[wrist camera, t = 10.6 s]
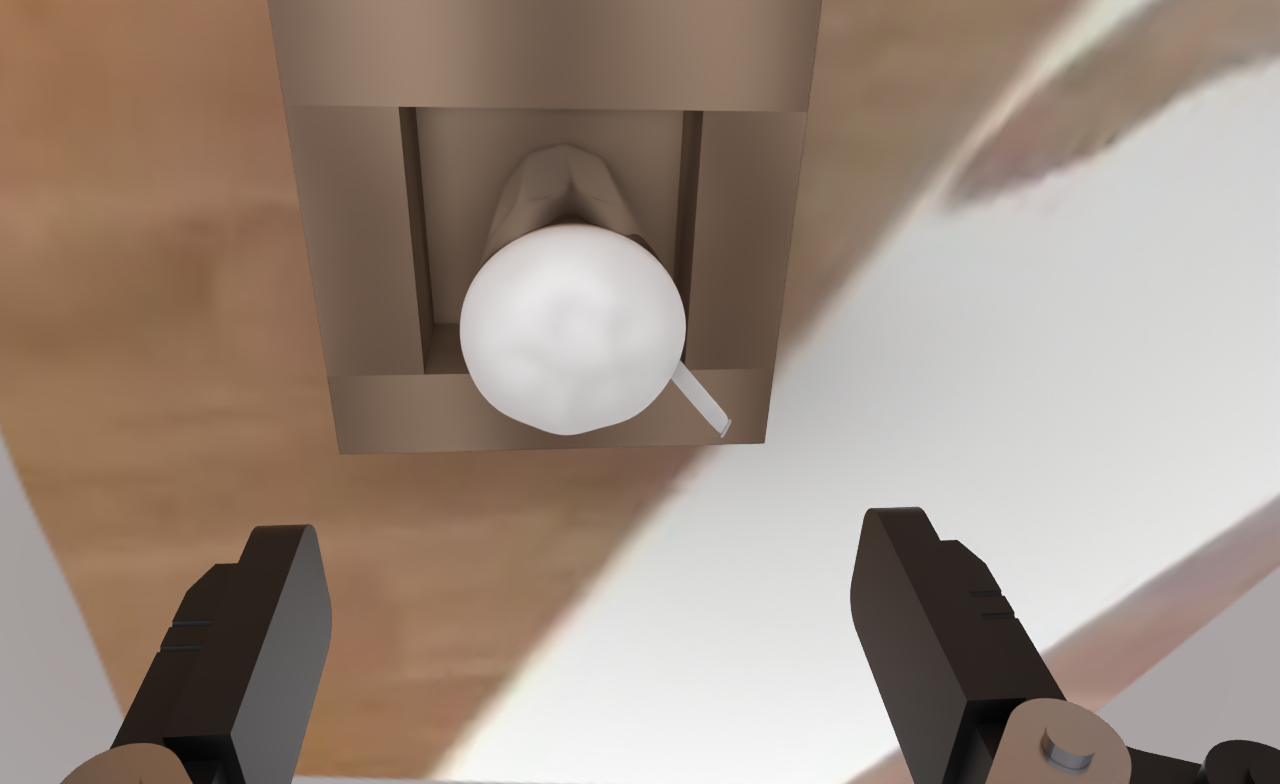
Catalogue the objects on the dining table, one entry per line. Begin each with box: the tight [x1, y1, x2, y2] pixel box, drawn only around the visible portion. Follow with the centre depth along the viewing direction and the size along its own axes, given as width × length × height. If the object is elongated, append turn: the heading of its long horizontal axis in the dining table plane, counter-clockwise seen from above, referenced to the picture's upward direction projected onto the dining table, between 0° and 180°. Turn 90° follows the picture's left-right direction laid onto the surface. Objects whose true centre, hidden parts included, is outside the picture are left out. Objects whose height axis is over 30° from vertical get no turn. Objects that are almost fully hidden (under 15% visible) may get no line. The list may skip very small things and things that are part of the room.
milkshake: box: [460, 143, 731, 438], centre depth 21 cm, size 4×5×10 cm
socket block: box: [267, 0, 822, 455], centre depth 25 cm, size 12×12×4 cm
